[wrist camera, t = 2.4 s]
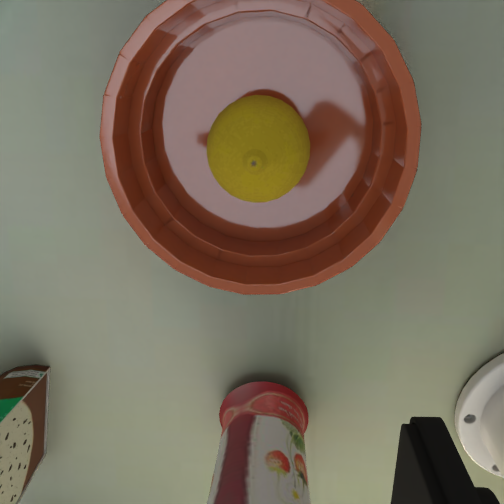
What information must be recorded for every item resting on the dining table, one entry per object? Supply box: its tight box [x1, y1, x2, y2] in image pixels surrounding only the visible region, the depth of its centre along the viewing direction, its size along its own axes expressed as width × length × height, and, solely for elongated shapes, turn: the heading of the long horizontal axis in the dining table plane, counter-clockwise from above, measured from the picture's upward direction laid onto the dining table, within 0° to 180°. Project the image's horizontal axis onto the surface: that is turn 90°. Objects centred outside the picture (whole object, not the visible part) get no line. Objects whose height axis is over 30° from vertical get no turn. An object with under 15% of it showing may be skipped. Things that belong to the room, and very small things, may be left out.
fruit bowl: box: [100, 0, 421, 294], centre depth 26 cm, size 16×16×6 cm
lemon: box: [206, 95, 310, 203], centre depth 25 cm, size 6×6×8 cm
